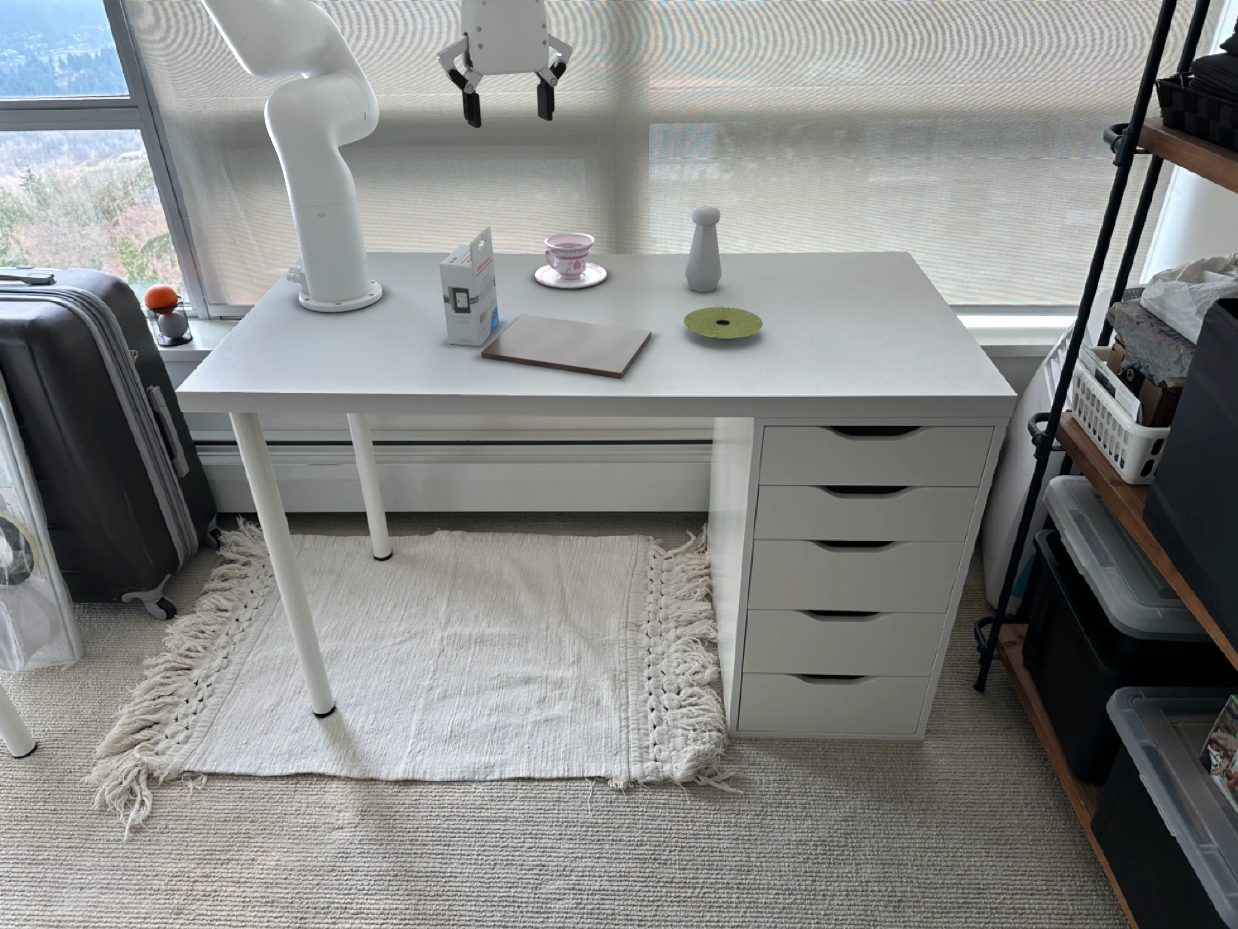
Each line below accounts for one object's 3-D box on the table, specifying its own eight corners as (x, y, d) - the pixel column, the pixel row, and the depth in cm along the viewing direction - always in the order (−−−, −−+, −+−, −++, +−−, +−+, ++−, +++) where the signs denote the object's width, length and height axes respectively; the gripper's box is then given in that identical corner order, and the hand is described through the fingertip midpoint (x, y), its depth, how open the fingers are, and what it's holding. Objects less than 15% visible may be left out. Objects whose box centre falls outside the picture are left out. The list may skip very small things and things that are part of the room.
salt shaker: (726, 285, 140) (732, 205, 133) (710, 296, 135) (715, 214, 128) (694, 278, 142) (698, 199, 135) (677, 289, 138) (681, 208, 131)
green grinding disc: (743, 356, 117) (744, 343, 116) (669, 340, 122) (670, 327, 120) (773, 327, 125) (774, 315, 124) (703, 313, 130) (703, 301, 129)
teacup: (575, 259, 150) (574, 224, 147) (621, 277, 143) (621, 241, 139) (520, 276, 143) (517, 239, 140) (566, 295, 136) (564, 257, 132)
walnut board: (481, 357, 117) (480, 352, 116) (522, 319, 128) (522, 314, 127) (621, 378, 111) (621, 372, 111) (651, 336, 123) (651, 331, 122)
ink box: (468, 320, 127) (458, 221, 119) (500, 323, 127) (491, 224, 119) (447, 344, 120) (435, 241, 112) (480, 347, 119) (470, 243, 112)
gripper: (555, -36, 106) (559, 111, 115) (419, -34, 99) (435, 123, 108) (582, -33, 100) (584, 121, 110) (440, -31, 93) (455, 134, 103)
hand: (510, 122), depth 109 cm, fingers open, 9 cm apart
